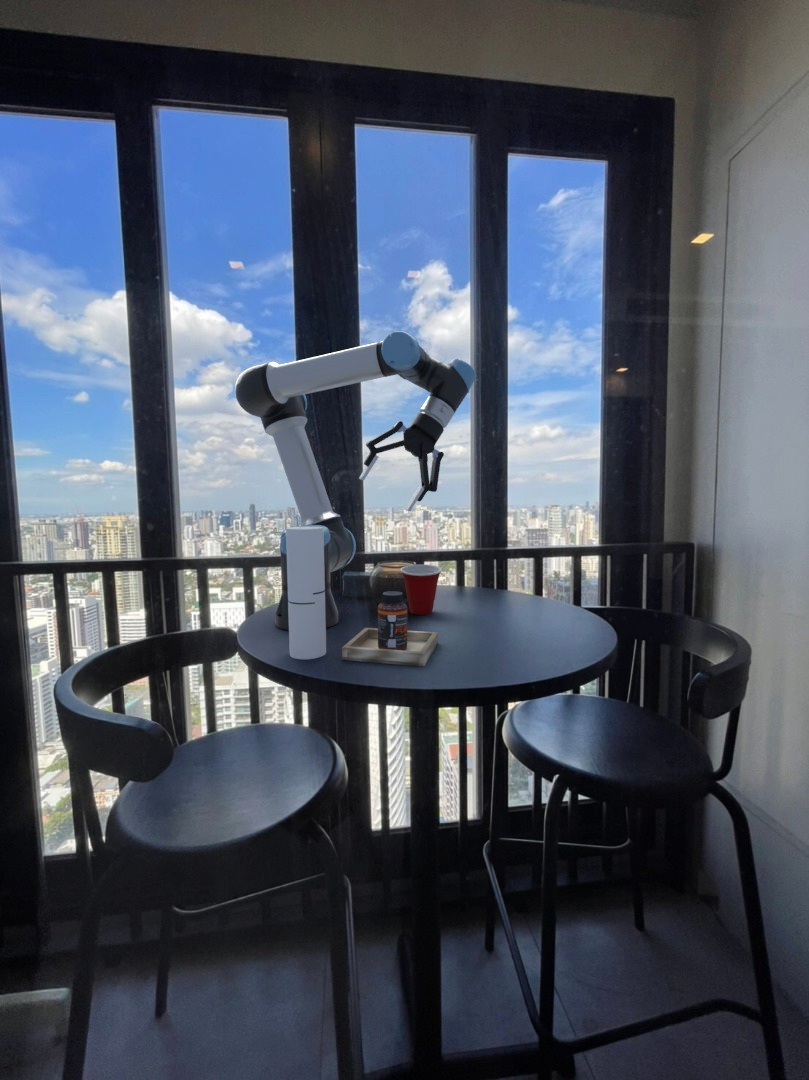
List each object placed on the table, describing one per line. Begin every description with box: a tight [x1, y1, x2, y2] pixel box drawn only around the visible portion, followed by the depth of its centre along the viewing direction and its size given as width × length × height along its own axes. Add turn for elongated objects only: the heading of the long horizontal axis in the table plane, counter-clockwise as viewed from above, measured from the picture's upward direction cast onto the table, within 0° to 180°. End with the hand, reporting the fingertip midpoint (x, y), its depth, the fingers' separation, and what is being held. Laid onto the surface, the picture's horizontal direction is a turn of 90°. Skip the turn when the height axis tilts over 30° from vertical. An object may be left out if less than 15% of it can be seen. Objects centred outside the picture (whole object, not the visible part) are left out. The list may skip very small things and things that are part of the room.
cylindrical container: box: [285, 526, 327, 660], centre depth 97 cm, size 7×7×25 cm
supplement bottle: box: [377, 590, 408, 650], centre depth 99 cm, size 6×6×11 cm
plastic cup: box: [400, 564, 442, 616], centre depth 130 cm, size 11×11×12 cm
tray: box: [341, 627, 439, 667], centre depth 99 cm, size 16×14×2 cm
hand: (384, 495), depth 118 cm, fingers open, 13 cm apart
